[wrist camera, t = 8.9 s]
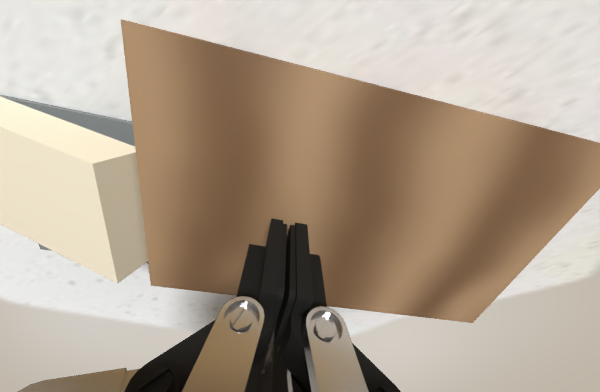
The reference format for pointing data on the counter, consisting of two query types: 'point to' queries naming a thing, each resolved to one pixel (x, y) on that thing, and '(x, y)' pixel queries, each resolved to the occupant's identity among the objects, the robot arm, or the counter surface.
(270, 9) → the counter surface
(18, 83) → the counter surface
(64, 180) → the cream foam block
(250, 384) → the deodorant
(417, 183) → the wood grain slab
